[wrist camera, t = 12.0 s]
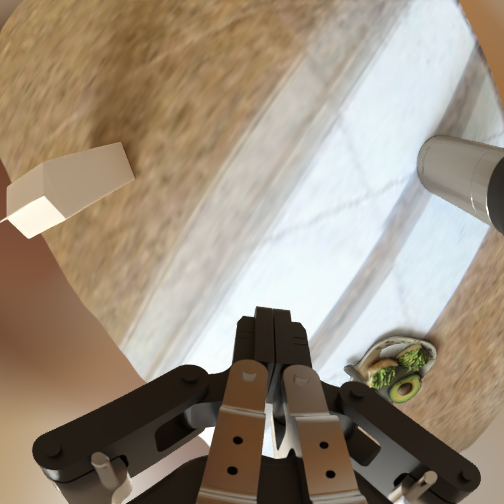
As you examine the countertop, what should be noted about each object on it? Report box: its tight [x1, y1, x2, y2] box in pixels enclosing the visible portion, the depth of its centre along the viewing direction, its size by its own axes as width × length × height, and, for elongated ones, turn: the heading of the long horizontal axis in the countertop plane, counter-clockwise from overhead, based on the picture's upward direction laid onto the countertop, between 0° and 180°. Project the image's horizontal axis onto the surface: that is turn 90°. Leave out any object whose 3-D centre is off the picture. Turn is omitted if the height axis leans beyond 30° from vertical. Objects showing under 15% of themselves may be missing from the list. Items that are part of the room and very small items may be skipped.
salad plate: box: [344, 336, 437, 404], centre depth 55 cm, size 19×18×5 cm
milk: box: [0, 142, 135, 238], centre depth 33 cm, size 6×6×22 cm
